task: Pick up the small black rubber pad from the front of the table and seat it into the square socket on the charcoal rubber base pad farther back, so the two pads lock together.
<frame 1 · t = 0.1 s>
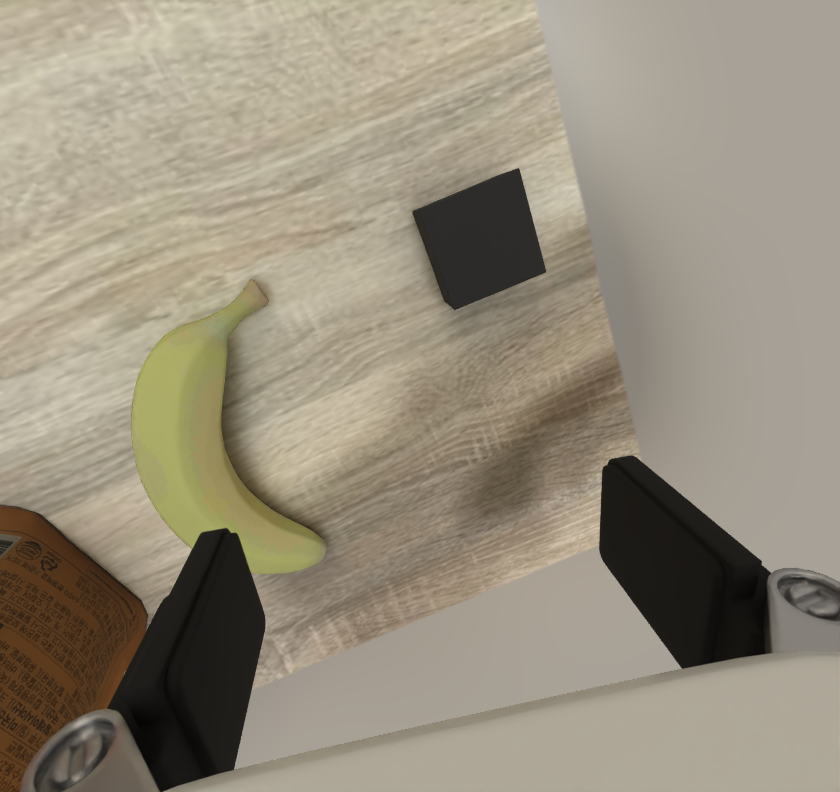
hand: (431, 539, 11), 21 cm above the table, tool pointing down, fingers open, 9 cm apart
pancake mix bag: (79, 569, 34), on the table
black pad: (472, 240, 29), on the table
banana: (256, 424, 31), on the table
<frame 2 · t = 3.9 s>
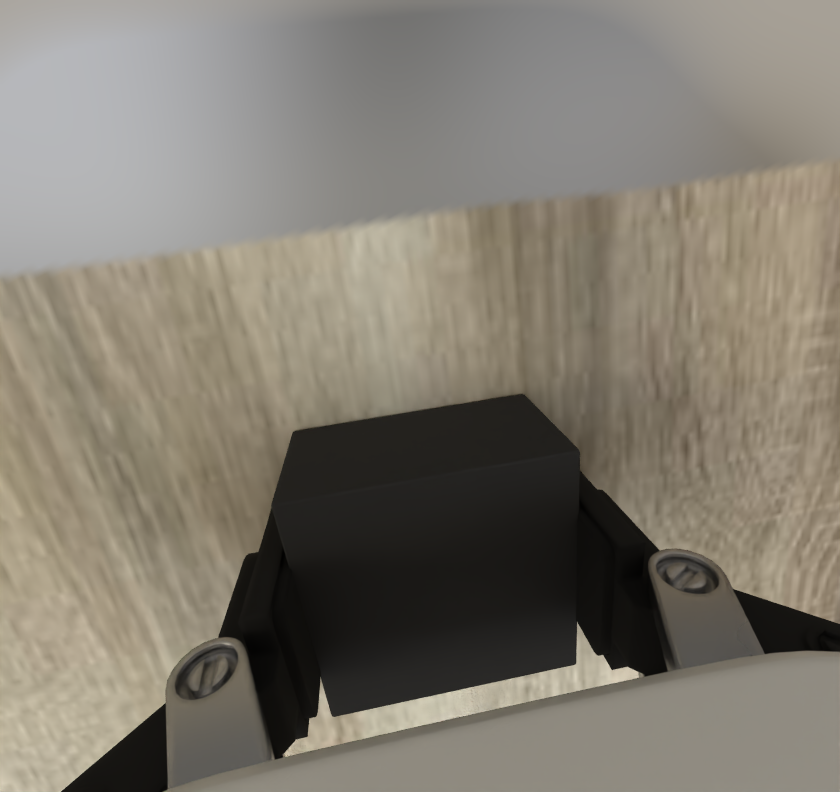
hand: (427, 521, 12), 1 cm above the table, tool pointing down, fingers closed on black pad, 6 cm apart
black pad: (424, 508, 13), on the table, touching gripper
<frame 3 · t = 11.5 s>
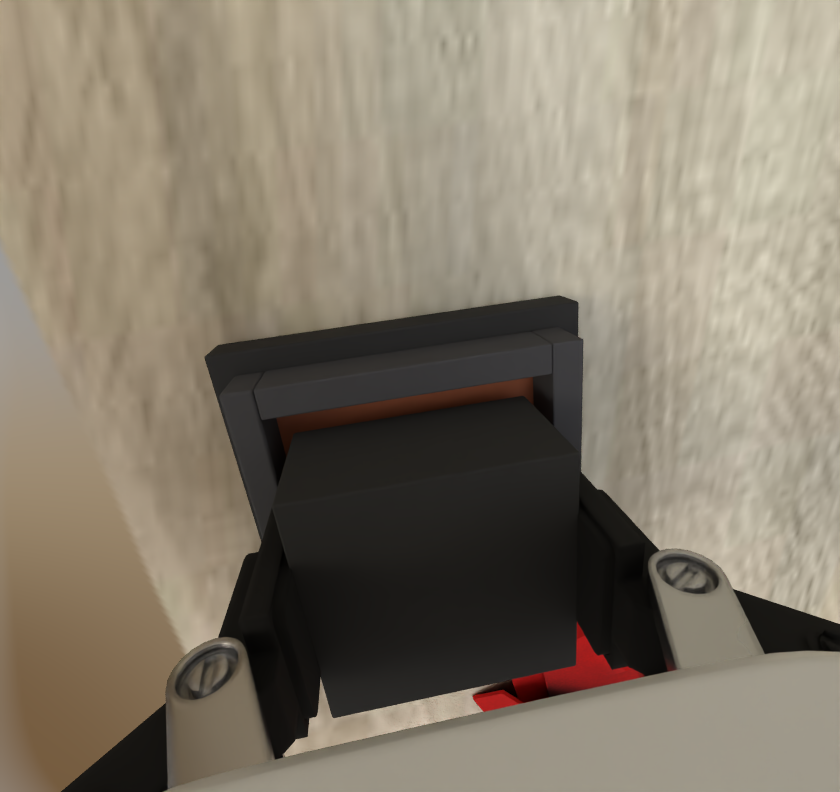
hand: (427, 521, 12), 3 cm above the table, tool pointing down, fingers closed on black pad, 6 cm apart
base pad: (415, 469, 15), on the table
cloth: (639, 747, 22), on the table
black pad: (424, 509, 13), point 2 cm above the table, touching gripper
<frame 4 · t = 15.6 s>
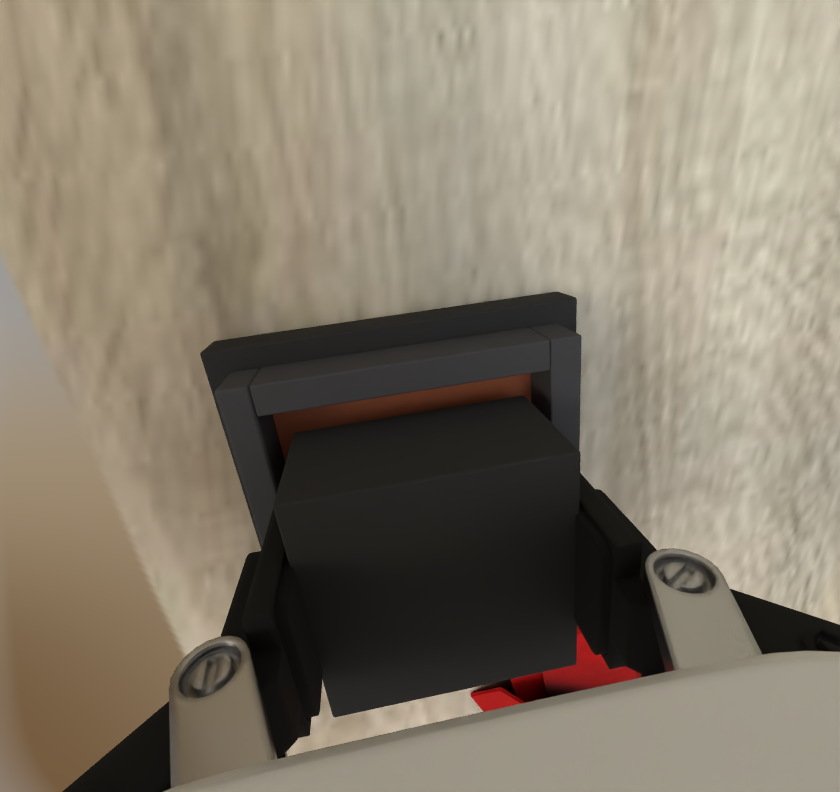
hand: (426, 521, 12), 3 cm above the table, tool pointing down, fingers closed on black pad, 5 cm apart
base pad: (412, 466, 15), on the table
cloth: (637, 744, 22), on the table
black pad: (424, 509, 13), point 2 cm above the table, touching gripper
when the fingers open (4 cm above the table, at t = 19.2 s): black pad drops 2 cm, resting on base pad.
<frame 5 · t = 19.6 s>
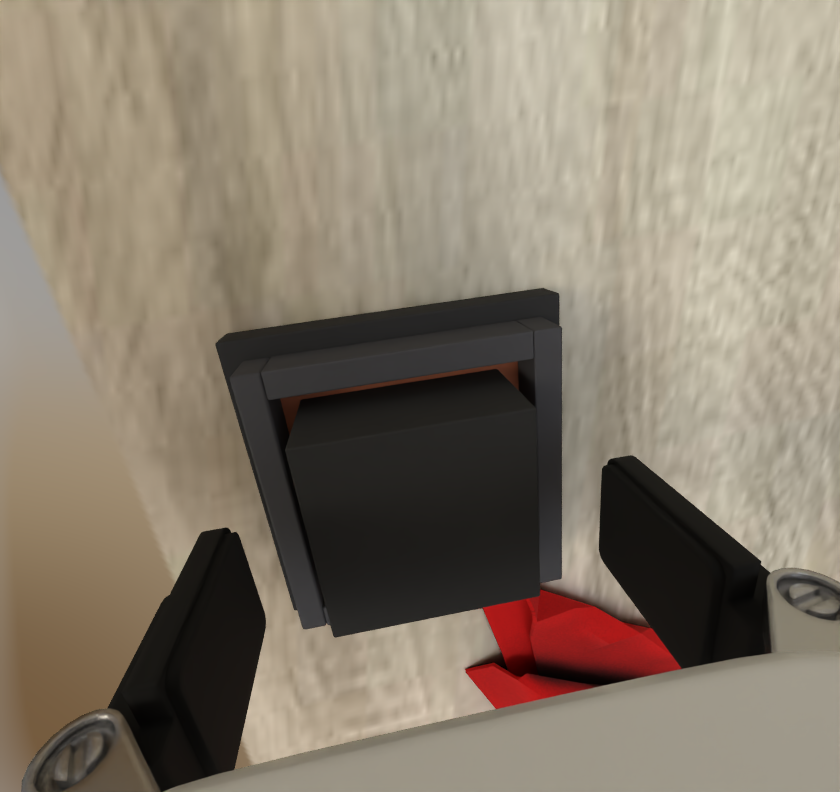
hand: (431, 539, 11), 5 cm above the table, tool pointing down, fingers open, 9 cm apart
base pad: (409, 450, 16), on the table
cloth: (625, 722, 23), on the table
black pad: (412, 469, 15), point 1 cm above the table, touching base pad
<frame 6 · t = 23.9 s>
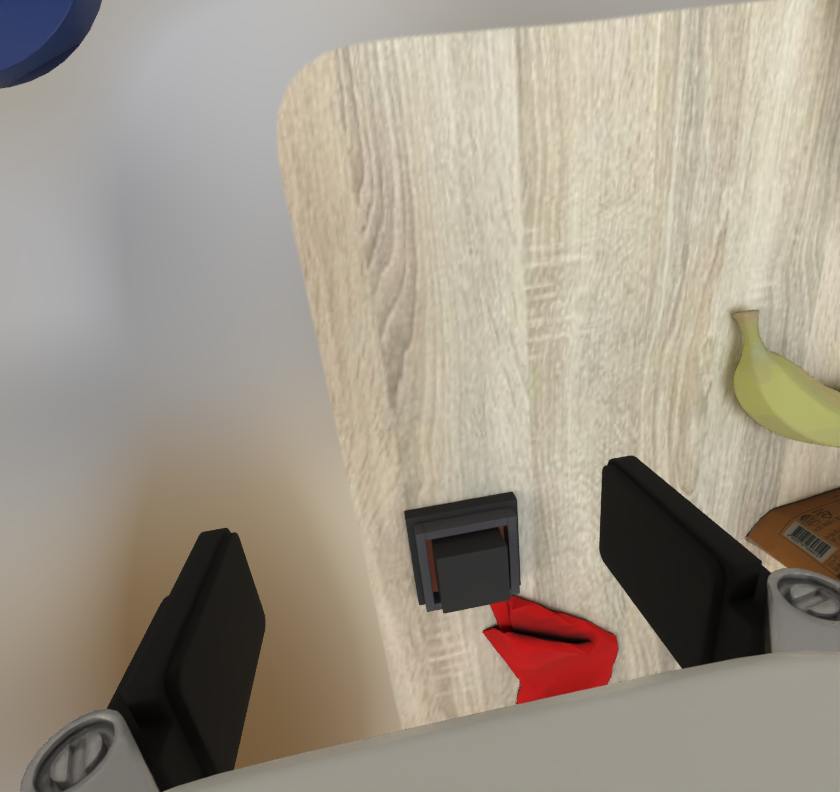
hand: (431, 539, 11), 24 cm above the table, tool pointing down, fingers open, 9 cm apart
pancake mix bag: (816, 505, 47), on the table
base pad: (463, 545, 42), on the table
cloth: (556, 658, 50), on the table
black pad: (466, 554, 41), point 1 cm above the table, touching base pad
banana: (802, 363, 40), on the table
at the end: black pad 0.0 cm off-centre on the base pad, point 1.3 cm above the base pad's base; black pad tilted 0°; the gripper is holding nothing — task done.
